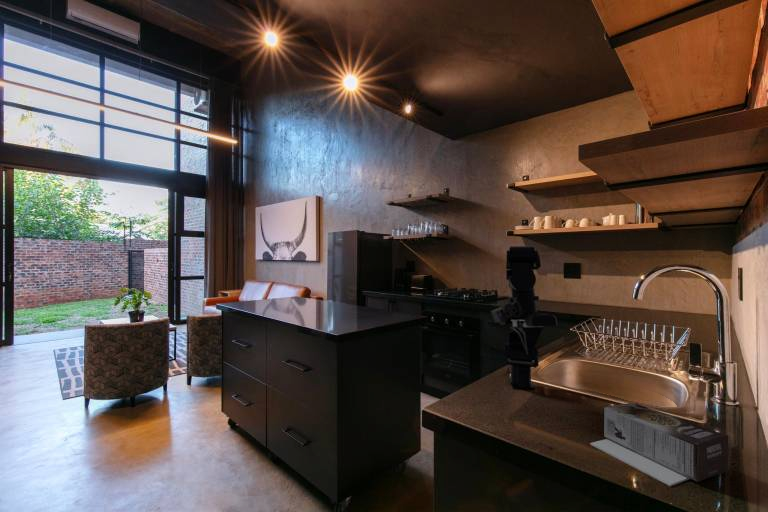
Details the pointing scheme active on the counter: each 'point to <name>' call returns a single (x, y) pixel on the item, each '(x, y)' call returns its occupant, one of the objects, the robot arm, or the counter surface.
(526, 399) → the counter surface
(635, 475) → the counter surface
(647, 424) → the coffee box
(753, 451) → the counter surface
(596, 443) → the grey mat
